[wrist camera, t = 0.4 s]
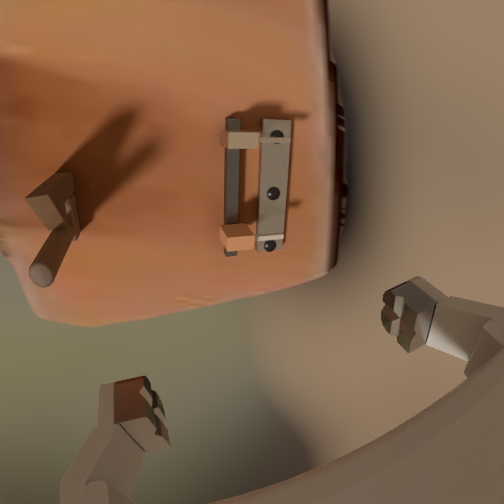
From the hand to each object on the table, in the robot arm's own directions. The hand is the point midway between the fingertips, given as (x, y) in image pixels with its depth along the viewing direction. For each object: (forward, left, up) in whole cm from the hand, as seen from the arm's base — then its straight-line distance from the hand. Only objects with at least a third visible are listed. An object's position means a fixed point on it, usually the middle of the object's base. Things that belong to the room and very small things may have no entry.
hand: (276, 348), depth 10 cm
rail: (+7, +13, -45) cm, 47 cm away
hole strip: (+7, +17, -45) cm, 48 cm away
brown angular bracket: (+7, -18, -45) cm, 49 cm away
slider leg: (+14, +13, -42) cm, 46 cm away
